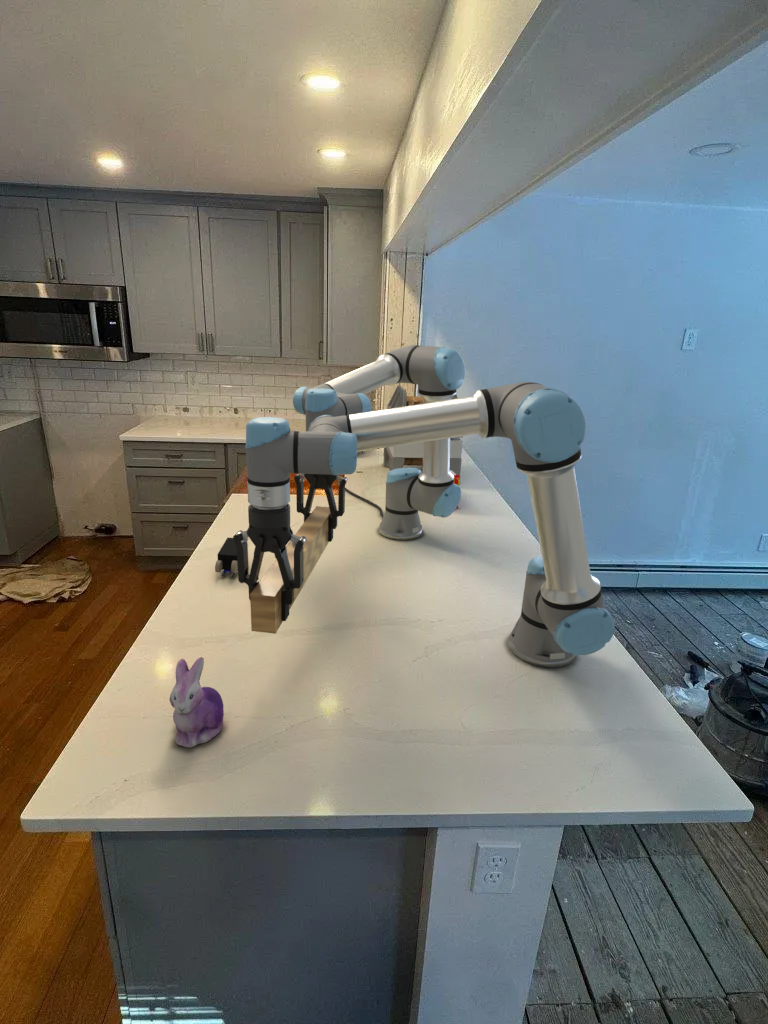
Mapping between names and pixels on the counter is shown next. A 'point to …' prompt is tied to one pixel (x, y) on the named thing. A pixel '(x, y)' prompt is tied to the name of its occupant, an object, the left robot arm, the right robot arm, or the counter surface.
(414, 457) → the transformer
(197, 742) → the figurine
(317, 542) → the post
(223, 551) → the black boxy wheeled piece
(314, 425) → the right robot arm
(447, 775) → the counter surface
